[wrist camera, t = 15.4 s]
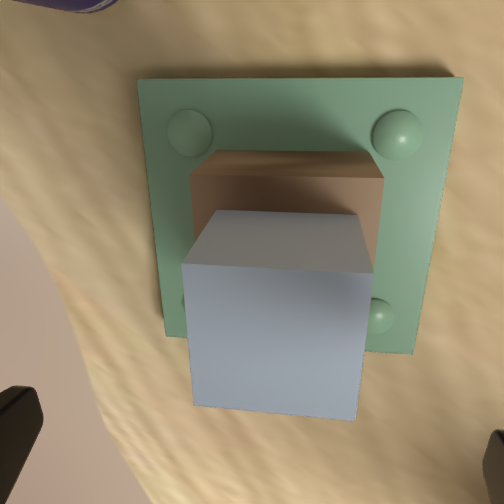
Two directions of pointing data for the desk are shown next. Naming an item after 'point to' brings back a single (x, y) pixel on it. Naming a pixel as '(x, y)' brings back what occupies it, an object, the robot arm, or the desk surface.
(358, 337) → the grey cube
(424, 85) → the baseplate
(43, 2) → the energy drink
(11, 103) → the desk surface
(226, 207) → the walnut brick
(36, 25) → the desk surface
